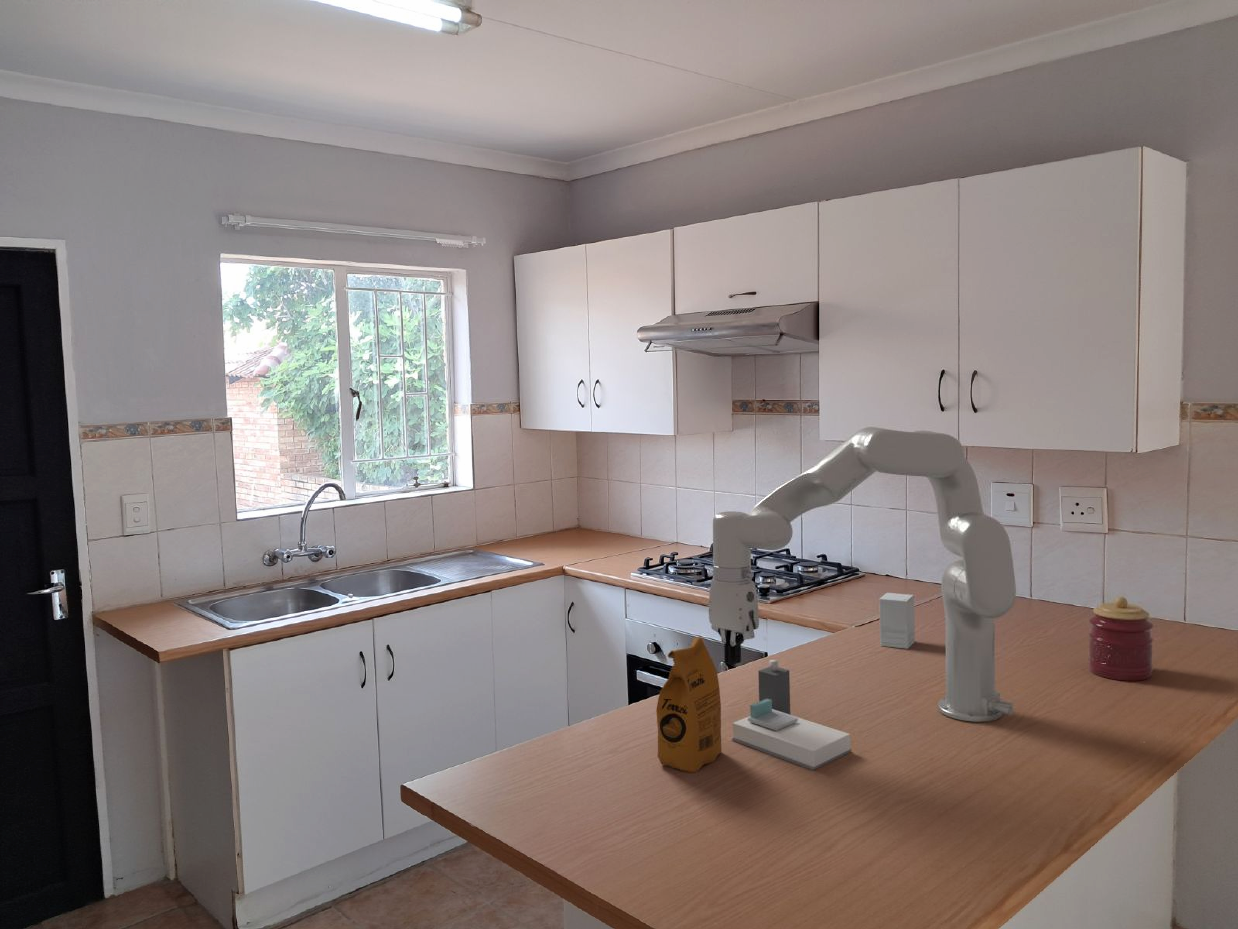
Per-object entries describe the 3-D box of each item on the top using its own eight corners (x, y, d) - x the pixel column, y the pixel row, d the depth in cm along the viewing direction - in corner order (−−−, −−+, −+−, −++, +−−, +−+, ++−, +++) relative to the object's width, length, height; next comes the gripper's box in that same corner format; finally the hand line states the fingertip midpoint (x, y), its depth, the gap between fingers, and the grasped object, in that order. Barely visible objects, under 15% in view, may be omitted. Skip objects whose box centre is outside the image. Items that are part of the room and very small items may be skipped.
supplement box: (915, 642, 239) (915, 594, 238) (907, 649, 233) (907, 601, 232) (887, 638, 243) (886, 591, 242) (879, 646, 237) (878, 598, 236)
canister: (1139, 686, 201) (1141, 607, 199) (1078, 673, 211) (1079, 598, 209) (1161, 671, 210) (1162, 596, 208) (1101, 660, 219) (1102, 587, 218)
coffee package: (649, 764, 171) (645, 649, 168) (685, 742, 180) (682, 632, 178) (694, 777, 165) (690, 657, 162) (729, 752, 174) (726, 640, 172)
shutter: (797, 721, 179) (797, 706, 178) (775, 730, 174) (775, 715, 174) (770, 712, 184) (769, 697, 184) (748, 721, 180) (747, 706, 180)
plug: (790, 717, 191) (789, 661, 190) (776, 723, 188) (775, 666, 187) (773, 711, 195) (772, 656, 193) (759, 717, 192) (758, 661, 191)
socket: (851, 751, 173) (850, 733, 172) (812, 770, 165) (812, 751, 165) (770, 724, 188) (770, 707, 187) (732, 740, 180) (731, 723, 180)
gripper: (773, 576, 181) (773, 667, 182) (717, 565, 192) (718, 651, 194) (747, 582, 176) (748, 675, 177) (692, 571, 187) (693, 658, 189)
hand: (732, 662), depth 186 cm, fingers closed
